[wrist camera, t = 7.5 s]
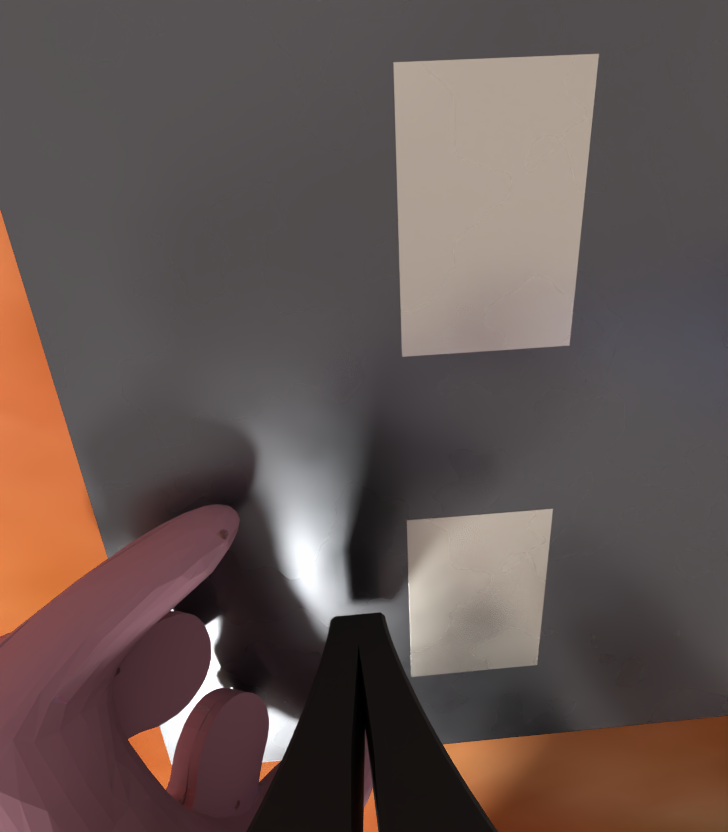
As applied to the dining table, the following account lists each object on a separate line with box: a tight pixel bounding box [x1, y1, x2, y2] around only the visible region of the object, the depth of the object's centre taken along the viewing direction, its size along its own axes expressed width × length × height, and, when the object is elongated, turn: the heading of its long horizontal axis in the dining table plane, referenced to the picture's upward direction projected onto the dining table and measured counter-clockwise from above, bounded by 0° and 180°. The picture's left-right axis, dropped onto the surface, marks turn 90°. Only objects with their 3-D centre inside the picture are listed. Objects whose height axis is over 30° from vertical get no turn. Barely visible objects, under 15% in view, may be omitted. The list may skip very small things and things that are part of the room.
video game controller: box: [0, 504, 373, 832], centre depth 9 cm, size 10×5×7 cm, turn 25°
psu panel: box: [0, 0, 728, 764], centre depth 10 cm, size 20×22×1 cm
